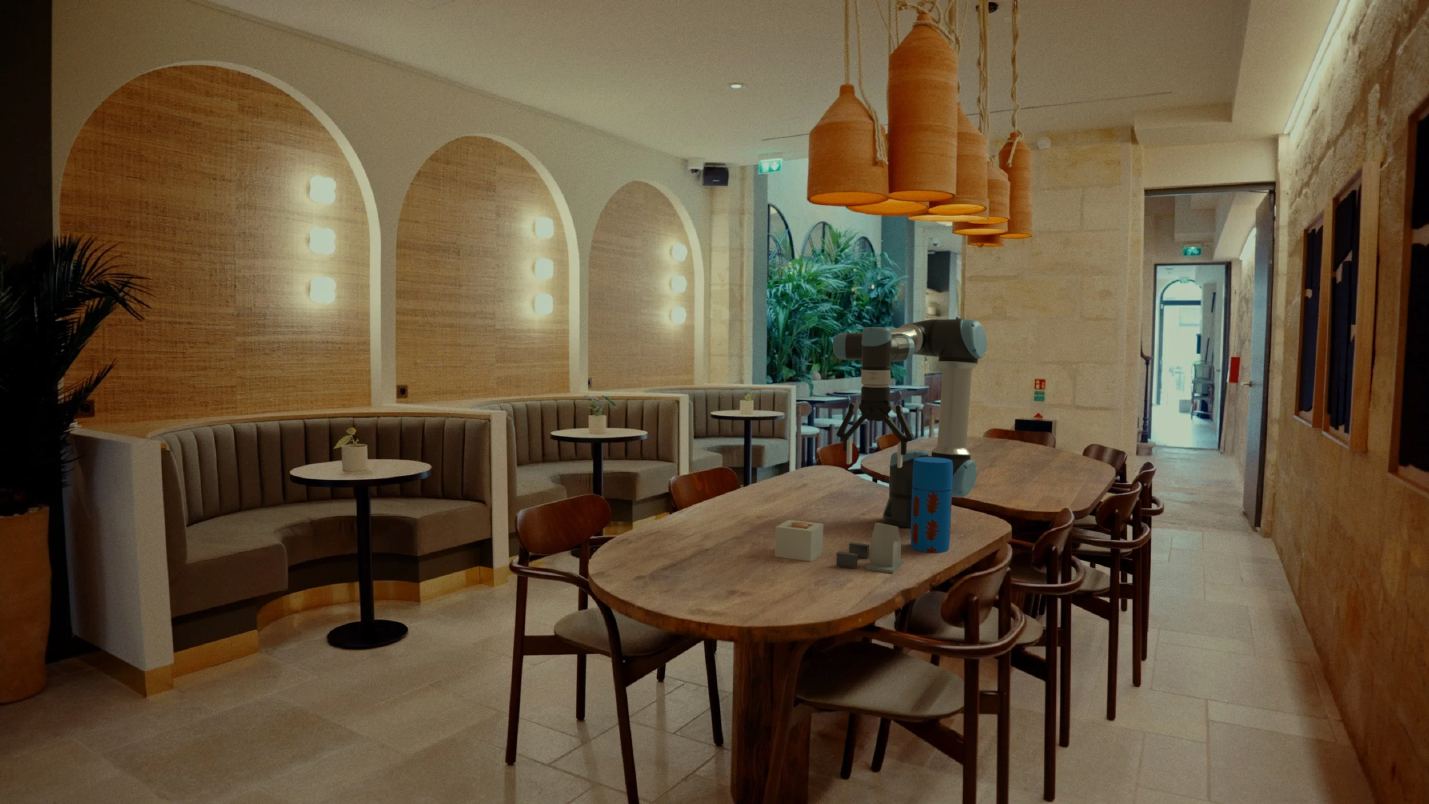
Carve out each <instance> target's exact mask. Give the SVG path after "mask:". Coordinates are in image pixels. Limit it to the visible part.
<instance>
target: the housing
mask: <svg viewBox="0 0 1429 804" xmlns="http://www.w3.org/2000/svg"><path fill="white" fill-rule="evenodd" d="M793 522H805V523H808V526H811V527H809V528H807V529H803V528H795V527H791V526H792V523H793ZM774 536H775V537H774V538H775V540H774V542H775V543H774V545H775V546H774V557H776V558H785V559H790V560H798V561H807V562H812V561H813V560H814V559H816V558H817V557H819V556H820V555H822V554H823V553H824V552H823V548H824V547H823V544H824V543H823V542H824V523H819V522H811V521H802V520H793V519H788V520H785V521H784V522H782V523H780V524H778V525H777V526H775V535H774Z"/></svg>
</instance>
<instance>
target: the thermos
mask: <svg viewBox="0 0 1429 804" xmlns="http://www.w3.org/2000/svg"><path fill="white" fill-rule="evenodd" d="M952 479H953V462H952V460H950V459H945V458H935V457H919V458H914V462H913V482H912V510H911V527H910V548H911V549H912V550H915V551H918V550H920V551H919V552H924V553H932V552H933V553H936V554H937V553H945V552H948V551H949V550H950V541H951V525H952V524H951V523H952V503H953V502H952V501H953V500H952V499H953V497H952Z"/></svg>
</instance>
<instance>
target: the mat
mask: <svg viewBox="0 0 1429 804" xmlns="http://www.w3.org/2000/svg"><path fill="white" fill-rule="evenodd" d="M904 561H905V559H904V558H901V559H900V565H897V566H894V567H891V566H886V565H882V564H878V563H874V562H870V561H869V563H868V564H867V565H866V566H865V568H864V569H865V571H870V570H872V571H871V572H877V573H878V572H879V573H887V574H892V575H893V574H894V573H895V572H897V570H898V569H899V568H900V567H901V566H902V565H903V563H904Z"/></svg>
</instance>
